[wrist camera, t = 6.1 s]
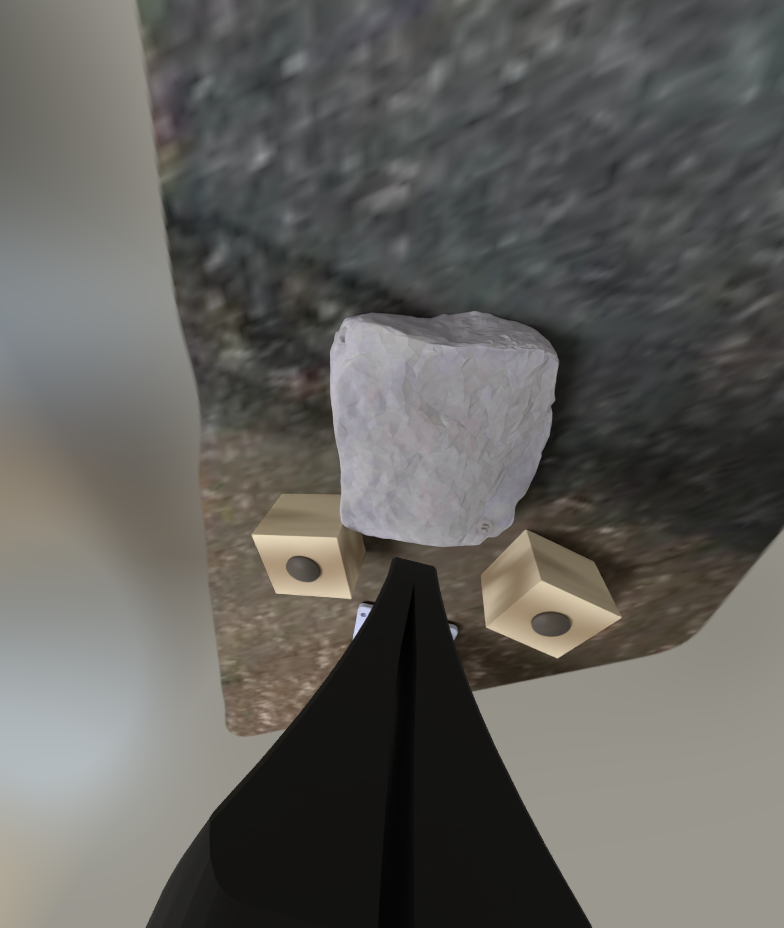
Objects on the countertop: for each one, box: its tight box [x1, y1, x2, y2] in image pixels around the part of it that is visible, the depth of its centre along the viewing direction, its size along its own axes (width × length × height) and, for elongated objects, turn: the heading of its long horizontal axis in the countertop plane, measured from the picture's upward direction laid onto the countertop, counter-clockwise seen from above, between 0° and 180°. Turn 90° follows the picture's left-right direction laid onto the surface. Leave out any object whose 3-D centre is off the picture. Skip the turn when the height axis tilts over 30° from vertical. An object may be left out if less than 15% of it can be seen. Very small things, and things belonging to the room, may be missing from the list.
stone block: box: [330, 311, 559, 547], centre depth 16 cm, size 12×5×10 cm
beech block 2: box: [481, 529, 622, 658], centre depth 20 cm, size 5×5×4 cm
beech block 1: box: [252, 494, 366, 599], centre depth 20 cm, size 5×5×4 cm
